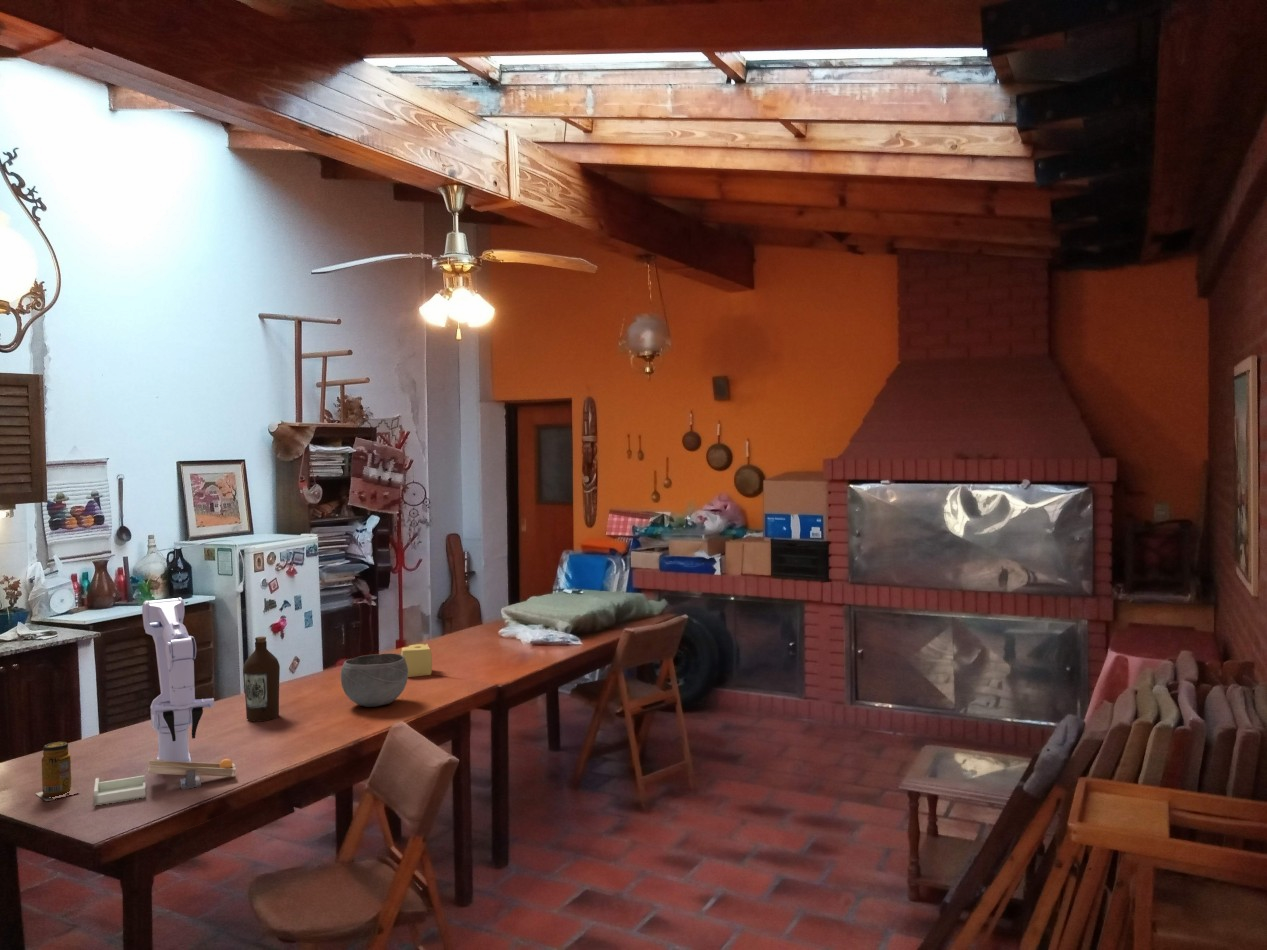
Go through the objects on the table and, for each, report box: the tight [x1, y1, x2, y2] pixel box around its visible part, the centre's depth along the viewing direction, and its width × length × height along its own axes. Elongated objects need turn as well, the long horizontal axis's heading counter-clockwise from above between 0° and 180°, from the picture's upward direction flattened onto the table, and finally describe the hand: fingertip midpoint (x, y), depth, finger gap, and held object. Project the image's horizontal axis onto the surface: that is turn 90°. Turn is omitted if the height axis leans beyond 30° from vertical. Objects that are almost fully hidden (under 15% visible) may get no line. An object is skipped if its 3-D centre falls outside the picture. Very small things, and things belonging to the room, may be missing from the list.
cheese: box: [400, 643, 433, 678], centre depth 354 cm, size 10×11×10 cm
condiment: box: [35, 741, 72, 802], centre depth 233 cm, size 7×8×12 cm
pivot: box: [179, 770, 202, 790], centre depth 239 cm, size 7×4×4 cm, turn 27°
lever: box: [147, 758, 237, 777], centre depth 242 cm, size 11×20×2 cm, turn 118°
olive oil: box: [242, 636, 281, 722], centre depth 298 cm, size 11×11×25 cm
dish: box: [93, 775, 147, 807], centre depth 232 cm, size 10×11×4 cm
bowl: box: [340, 652, 409, 708], centre depth 311 cm, size 21×21×15 cm
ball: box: [219, 758, 233, 768], centre depth 243 cm, size 3×3×3 cm
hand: (183, 738), depth 244 cm, fingers open, 4 cm apart
